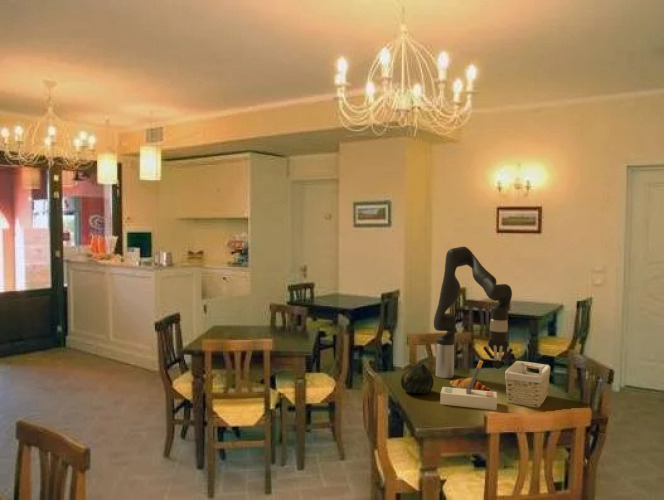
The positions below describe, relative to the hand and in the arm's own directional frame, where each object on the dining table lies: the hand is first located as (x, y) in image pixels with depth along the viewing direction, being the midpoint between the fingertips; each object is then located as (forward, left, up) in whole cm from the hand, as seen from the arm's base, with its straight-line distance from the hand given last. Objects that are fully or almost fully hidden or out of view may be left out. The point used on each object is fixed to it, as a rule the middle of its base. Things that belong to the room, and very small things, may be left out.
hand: (497, 368), depth 240 cm
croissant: (-21, -12, -17) cm, 30 cm away
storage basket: (-15, +14, -17) cm, 27 cm away
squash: (-9, -36, -17) cm, 41 cm away
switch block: (-5, -12, -17) cm, 21 cm away
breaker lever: (0, -12, -11) cm, 16 cm away
